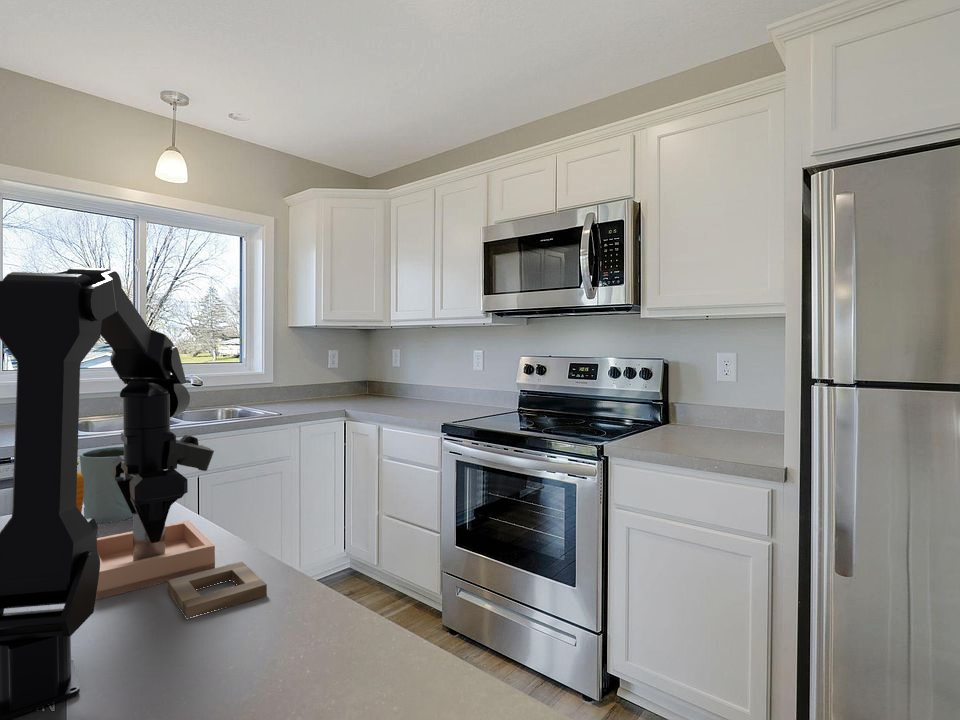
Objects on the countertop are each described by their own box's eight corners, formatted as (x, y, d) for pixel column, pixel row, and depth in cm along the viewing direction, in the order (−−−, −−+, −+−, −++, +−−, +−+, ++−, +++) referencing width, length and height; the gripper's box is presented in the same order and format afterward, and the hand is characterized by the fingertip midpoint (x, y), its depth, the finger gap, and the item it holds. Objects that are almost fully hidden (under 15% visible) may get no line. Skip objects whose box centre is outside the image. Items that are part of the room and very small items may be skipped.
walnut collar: (266, 595, 70) (266, 584, 70) (186, 619, 64) (186, 607, 64) (242, 571, 77) (242, 561, 77) (167, 591, 71) (167, 580, 71)
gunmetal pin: (168, 560, 78) (167, 513, 78) (135, 568, 76) (135, 519, 75) (161, 552, 81) (161, 506, 81) (130, 559, 79) (130, 511, 78)
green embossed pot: (74, 515, 101) (73, 451, 100) (136, 503, 108) (136, 443, 108) (88, 528, 94) (87, 460, 93) (153, 515, 101) (153, 451, 101)
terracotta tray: (214, 569, 78) (214, 545, 78) (96, 599, 69) (96, 572, 69) (188, 541, 89) (188, 520, 88) (83, 564, 79) (83, 540, 79)
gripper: (227, 429, 76) (227, 538, 77) (191, 414, 90) (191, 506, 91) (134, 437, 69) (136, 558, 69) (111, 420, 83) (112, 521, 83)
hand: (148, 533), depth 78 cm, fingers open, 9 cm apart
